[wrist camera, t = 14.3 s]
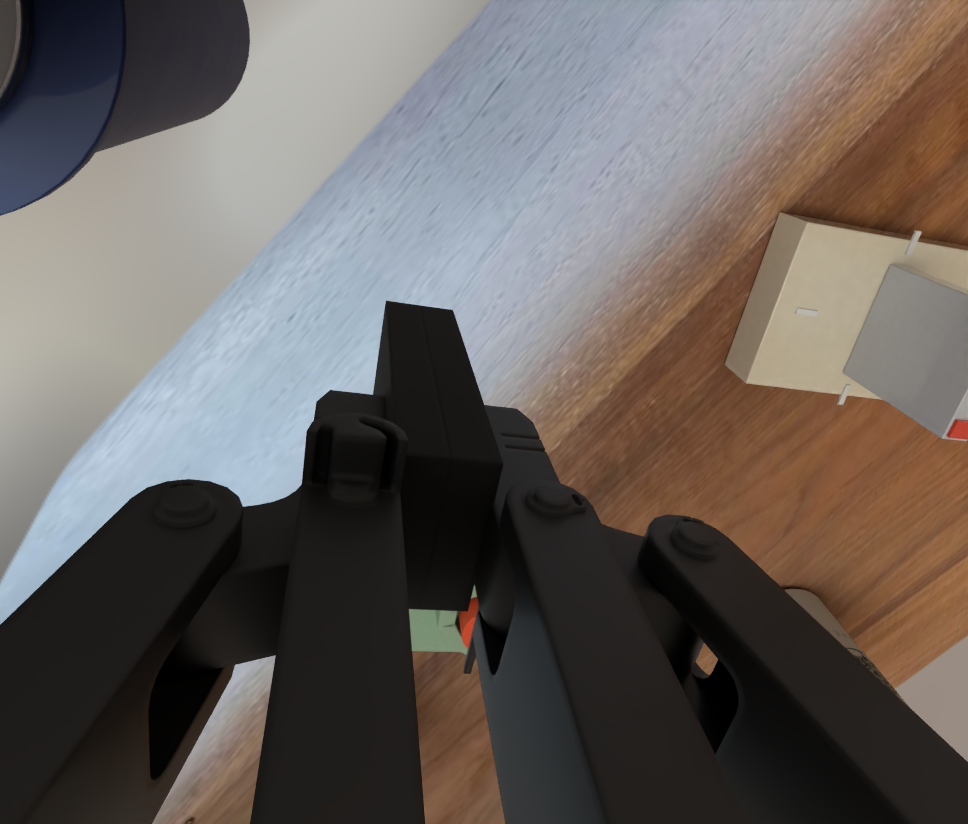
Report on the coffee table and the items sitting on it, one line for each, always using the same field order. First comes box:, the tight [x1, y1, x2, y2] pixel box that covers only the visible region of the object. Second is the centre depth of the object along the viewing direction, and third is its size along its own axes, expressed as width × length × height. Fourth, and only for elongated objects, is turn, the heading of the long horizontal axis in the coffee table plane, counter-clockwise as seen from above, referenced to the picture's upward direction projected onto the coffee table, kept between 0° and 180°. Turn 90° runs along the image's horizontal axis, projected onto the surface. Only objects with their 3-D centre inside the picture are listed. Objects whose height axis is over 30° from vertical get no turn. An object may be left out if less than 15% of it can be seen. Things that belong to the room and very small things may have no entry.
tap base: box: [725, 212, 968, 405], centre depth 43 cm, size 14×11×3 cm
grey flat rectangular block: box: [843, 265, 968, 441], centre depth 38 cm, size 7×2×9 cm, turn 170°
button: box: [459, 597, 479, 649], centre depth 46 cm, size 4×4×2 cm
